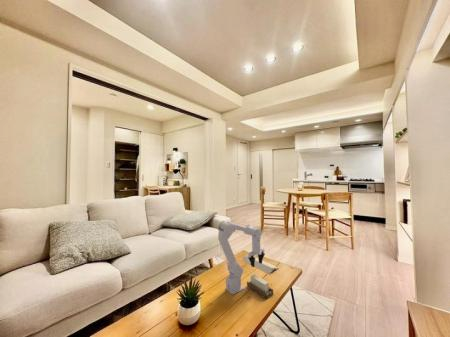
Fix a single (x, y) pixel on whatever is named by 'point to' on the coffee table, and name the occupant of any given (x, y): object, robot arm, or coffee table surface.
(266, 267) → the crown molding
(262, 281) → the light grey block
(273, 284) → the coffee table surface
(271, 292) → the rack
